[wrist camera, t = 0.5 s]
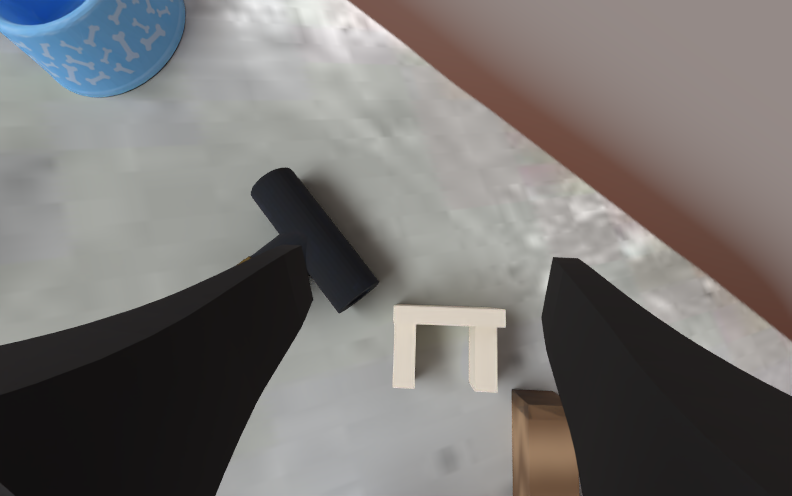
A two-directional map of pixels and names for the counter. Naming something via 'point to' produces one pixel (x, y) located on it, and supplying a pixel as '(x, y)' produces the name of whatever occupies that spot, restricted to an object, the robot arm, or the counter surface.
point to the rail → (542, 446)
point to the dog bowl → (96, 40)
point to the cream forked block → (476, 318)
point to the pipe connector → (312, 238)
